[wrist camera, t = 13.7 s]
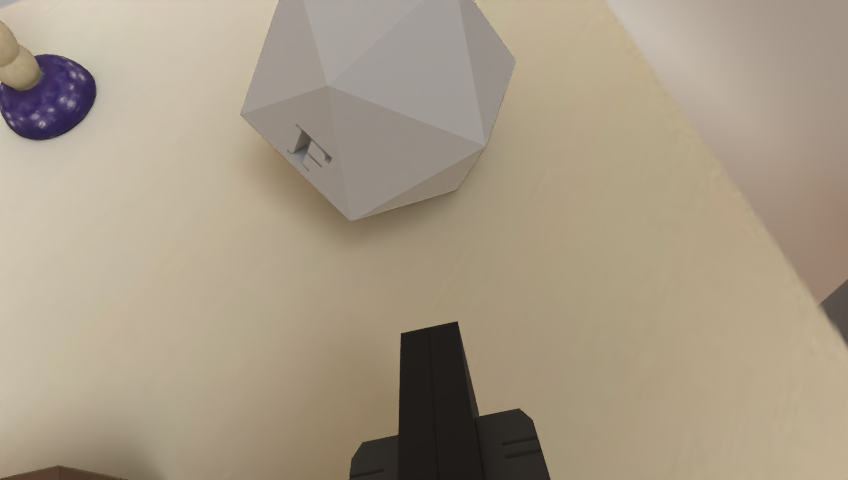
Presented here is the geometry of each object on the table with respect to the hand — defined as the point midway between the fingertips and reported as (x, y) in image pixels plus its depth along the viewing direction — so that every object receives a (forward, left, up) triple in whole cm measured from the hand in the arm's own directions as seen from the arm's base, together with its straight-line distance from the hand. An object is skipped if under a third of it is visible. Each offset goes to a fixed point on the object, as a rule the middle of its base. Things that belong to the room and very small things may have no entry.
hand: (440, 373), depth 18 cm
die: (0, -11, -6) cm, 12 cm away
